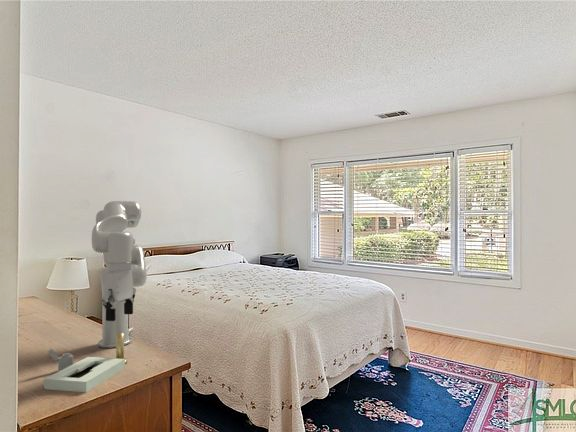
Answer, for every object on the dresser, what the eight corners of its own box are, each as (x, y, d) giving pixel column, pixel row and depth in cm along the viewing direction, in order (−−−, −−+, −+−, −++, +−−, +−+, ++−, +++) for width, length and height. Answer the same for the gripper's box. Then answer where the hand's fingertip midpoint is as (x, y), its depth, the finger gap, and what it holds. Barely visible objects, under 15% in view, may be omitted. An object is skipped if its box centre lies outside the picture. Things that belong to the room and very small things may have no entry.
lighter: (72, 367, 124) (72, 343, 124) (73, 369, 122) (73, 344, 123) (47, 372, 120) (47, 348, 120) (47, 374, 118) (47, 349, 118)
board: (88, 365, 125) (88, 356, 125) (125, 368, 123) (125, 359, 123) (44, 389, 108) (44, 378, 108) (86, 392, 105) (86, 381, 105)
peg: (118, 361, 129) (118, 331, 129) (129, 362, 128) (129, 332, 128) (110, 366, 125) (110, 335, 125) (121, 366, 124) (121, 335, 124)
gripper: (125, 265, 136) (125, 311, 135) (92, 270, 119) (92, 323, 118) (143, 265, 135) (144, 311, 134) (113, 270, 118) (113, 323, 117)
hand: (119, 317), depth 126 cm, fingers open, 9 cm apart
